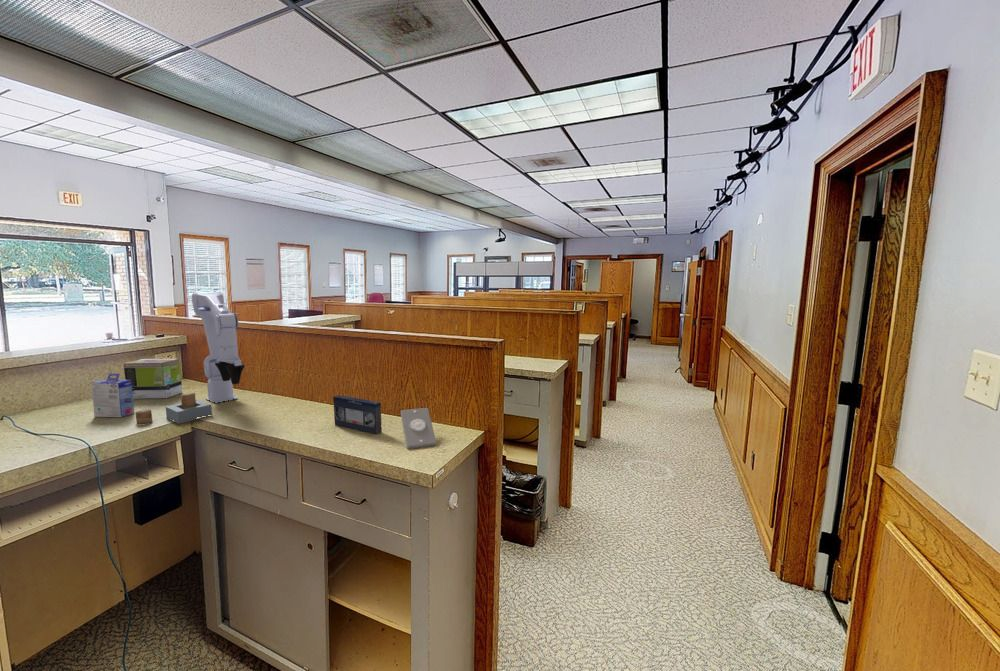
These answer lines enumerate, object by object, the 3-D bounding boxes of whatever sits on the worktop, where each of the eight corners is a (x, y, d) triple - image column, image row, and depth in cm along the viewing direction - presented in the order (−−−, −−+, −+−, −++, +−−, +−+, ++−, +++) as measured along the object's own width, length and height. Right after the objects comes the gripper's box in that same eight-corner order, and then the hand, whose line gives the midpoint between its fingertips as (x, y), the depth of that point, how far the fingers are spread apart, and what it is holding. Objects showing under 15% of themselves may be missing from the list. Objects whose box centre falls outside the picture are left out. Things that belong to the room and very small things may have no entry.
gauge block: (166, 417, 144) (165, 406, 143) (199, 410, 152) (198, 399, 151) (178, 423, 138) (177, 411, 138) (212, 415, 147) (211, 404, 146)
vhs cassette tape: (334, 425, 138) (332, 396, 137) (341, 423, 141) (340, 394, 139) (375, 435, 130) (374, 404, 128) (382, 432, 132) (381, 402, 131)
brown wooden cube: (134, 423, 138) (133, 411, 138) (149, 420, 142) (148, 408, 141) (139, 425, 136) (137, 414, 136) (154, 422, 139) (153, 410, 139)
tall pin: (180, 417, 145) (178, 394, 144) (194, 414, 148) (192, 392, 147) (185, 419, 142) (183, 396, 141) (199, 416, 146) (197, 394, 145)
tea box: (183, 392, 176) (180, 357, 174) (165, 399, 166) (162, 362, 164) (146, 392, 175) (142, 357, 173) (126, 399, 165) (122, 362, 163)
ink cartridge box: (136, 412, 149) (131, 373, 147) (121, 417, 143) (117, 376, 141) (108, 412, 149) (104, 372, 147) (93, 417, 144) (88, 376, 142)
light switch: (407, 444, 119) (400, 408, 129) (406, 458, 122) (400, 421, 133) (436, 441, 122) (428, 405, 132) (435, 454, 125) (426, 418, 136)
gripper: (207, 345, 154) (210, 381, 156) (224, 349, 146) (227, 387, 147) (228, 343, 160) (231, 377, 161) (246, 347, 151) (249, 383, 153)
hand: (231, 382), depth 155 cm, fingers open, 7 cm apart
